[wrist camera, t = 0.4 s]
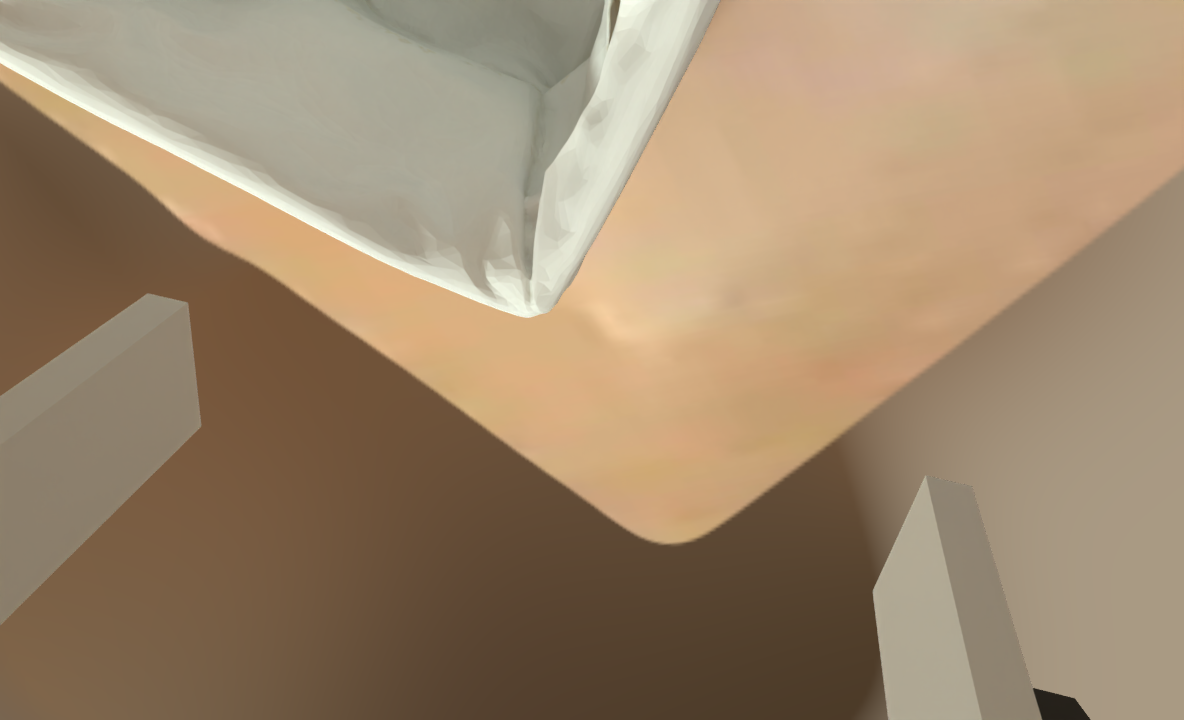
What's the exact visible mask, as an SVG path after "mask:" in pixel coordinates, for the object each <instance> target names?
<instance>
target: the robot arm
mask: <svg viewBox="0 0 1184 720" xmlns="http://www.w3.org/2000/svg"><path fill="white" fill-rule="evenodd" d="M200 427H201V420H200V410H199V401H198V391H197V382H196V373H195V364H194V355H193V346H192V337H191V327H190V319H189V309H188V303H187V302H183V301H178V300H174V299H169V298H165V297H161V296H157V295H153V294H146V295H145V296H144V297H142V298H141V299H139V300H138V301H136V302H135V303H133V304H132V305H131V306H129V307H128V308H126V309H125V310H123V311H122V312H121V313H119V314H118V315H116V316H115V317H113V318H112V319H110V320H109V321H108V322H106V323H105V324H103V325H102V326H100V327H99V328H98V329H96V330H95V331H93V332H92V333H90V334H89V335H88V336H86V337H85V338H83V339H82V340H80V341H79V342H77V343H76V344H75V345H73V346H72V347H70V348H69V349H68V350H66V351H65V352H63V353H62V354H60V355H59V356H57V357H56V358H54V359H53V360H52V361H50V362H49V363H48V364H46V365H45V366H43V367H42V368H40V369H39V370H37V371H36V372H35V373H33V374H31V375H30V376H29V377H27V378H26V379H24V380H23V381H22V382H20V383H19V384H17V385H16V386H15V387H13V388H12V389H10V390H9V391H7V392H6V393H4V394H3V395H1V396H0V625H1V624H2V623H3V622H4V621H5V620H6V619H7V618H8V617H9V616H10V615H11V614H12V613H13V612H14V611H15V610H16V609H17V608H18V607H19V606H20V605H21V604H22V603H23V602H24V601H25V600H26V599H27V598H28V597H29V596H30V595H31V594H32V593H33V592H34V591H35V590H36V589H37V588H38V587H39V586H40V585H41V584H42V583H43V582H44V581H45V580H46V579H47V578H48V577H49V576H50V575H51V574H52V573H53V572H54V571H55V570H56V569H57V568H58V567H59V566H60V565H61V564H62V563H63V562H64V561H65V560H66V559H68V557H69V556H71V554H73V553H74V552H75V550H77V549H78V548H79V547H80V546H81V545H82V544H83V543H84V541H86V540H87V539H88V538H89V537H90V536H91V535H92V534H93V533H94V532H95V531H96V530H97V529H98V528H99V527H100V526H101V525H102V524H103V523H104V522H105V521H106V520H107V519H108V518H109V517H110V516H111V515H112V514H113V513H114V512H115V511H116V510H117V509H118V508H119V507H120V506H121V505H122V504H123V503H124V502H125V501H126V500H127V499H128V498H129V497H130V496H131V495H132V494H133V493H134V492H135V491H136V490H137V489H138V488H139V487H140V486H141V485H142V484H143V483H144V482H145V481H146V480H147V479H148V478H149V477H150V476H151V475H152V474H153V473H154V472H155V471H156V470H158V469H159V468H160V467H161V466H162V465H163V464H164V463H165V462H166V461H167V460H168V459H169V458H170V457H171V456H172V455H173V454H174V452H176V451H177V450H178V449H179V448H180V447H181V446H182V445H183V443H185V442H186V441H187V440H188V439H189V438H190V437H191V436H192V435H193V434H194V433H195V432H196V431H197V430H198V429H199V428H200ZM873 598H874V606H875V614H876V622H877V630H878V638H879V646H880V655H881V663H882V671H883V679H884V687H885V695H886V704H887V711H888V720H1090V718H1089V717H1088V716H1087V714H1086V713H1085V712H1084V710H1083V709H1082V708H1081V706H1080V705H1079V704H1078V702H1077V701H1076V700H1075V699H1074V698H1071V697H1067V696H1063V695H1059V694H1055V693H1051V692H1047V691H1043V690H1039V689H1035V688H1032V684H1031V681H1030V678H1029V674H1028V671H1027V668H1026V664H1025V661H1024V658H1023V654H1022V651H1021V648H1020V645H1019V641H1018V638H1017V634H1016V631H1015V628H1014V624H1013V621H1012V618H1011V614H1010V611H1009V608H1008V604H1007V601H1006V598H1005V594H1004V591H1003V588H1002V584H1001V581H1000V578H999V574H998V571H997V568H996V564H995V561H994V558H993V554H992V551H991V548H990V544H989V541H988V538H987V535H986V531H985V528H984V524H983V521H982V518H981V515H980V511H979V508H978V504H977V501H976V498H975V494H974V491H973V488H972V486H969V485H965V484H960V483H956V482H952V481H948V480H944V479H939V478H935V477H931V476H925V478H924V480H923V482H922V484H921V487H920V489H919V491H918V494H917V496H916V498H915V500H914V502H913V504H912V506H911V509H910V511H909V513H908V515H907V517H906V520H905V522H904V524H903V526H902V528H901V530H900V533H899V535H898V537H897V539H896V541H895V544H894V546H893V548H892V550H891V552H890V555H889V557H888V559H887V561H886V563H885V566H884V568H883V570H882V572H881V574H880V576H879V579H878V581H877V583H876V585H875V588H874V590H873Z"/></svg>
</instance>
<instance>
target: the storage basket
mask: <svg viewBox="0 0 1184 720" xmlns="http://www.w3.org/2000/svg"><path fill="white" fill-rule="evenodd" d="M719 3H720V0H0V63H1V64H3V65H5V66H6V67H8V68H10V69H12V70H14V71H15V72H17V73H19V74H21V75H23V76H24V77H26V78H28V79H30V80H32V81H34V82H35V83H37V84H39V85H41V86H43V87H44V88H46V89H48V90H50V91H52V92H53V93H55V94H57V95H59V96H61V97H63V98H64V99H66V100H68V101H70V102H72V103H74V104H76V105H77V106H79V107H81V108H83V109H85V110H87V111H89V112H91V113H93V114H95V115H96V116H98V117H100V118H102V119H104V120H106V121H108V122H110V123H112V124H114V125H116V126H118V127H120V128H122V129H124V130H126V131H128V132H130V133H132V134H134V135H136V136H138V137H140V138H142V139H144V140H146V141H148V142H151V143H153V144H155V145H157V146H159V147H161V148H163V149H165V150H167V151H169V152H171V153H173V154H174V155H176V156H178V157H180V158H182V159H184V160H186V161H188V162H190V163H192V164H194V165H196V166H198V167H200V168H202V169H204V170H206V171H208V172H209V173H211V174H213V175H215V176H217V177H219V178H221V179H223V180H225V181H227V182H229V183H231V184H233V185H235V186H237V187H239V188H241V189H243V190H245V191H247V192H249V193H251V194H253V195H254V196H256V197H258V198H260V199H262V200H264V201H266V202H268V203H269V204H271V205H273V206H275V207H277V208H279V209H281V210H283V211H284V212H286V213H288V214H290V215H292V216H294V217H296V218H298V219H300V220H301V221H303V222H305V223H307V224H309V225H311V226H313V227H315V228H317V229H318V230H320V231H322V232H324V233H326V234H328V235H330V236H332V237H334V238H336V239H338V240H340V241H342V242H344V243H346V244H348V245H350V246H352V247H354V248H356V249H358V250H360V251H362V252H364V253H366V254H368V255H370V256H372V257H374V258H376V259H378V260H380V261H382V262H384V263H386V264H389V265H391V266H393V267H395V268H397V269H400V270H402V271H404V272H406V273H408V274H411V275H413V276H415V277H418V278H420V279H423V280H425V281H428V282H430V283H433V284H436V285H438V286H441V287H443V288H446V289H448V290H450V291H453V292H455V293H458V294H460V295H463V296H465V297H467V298H470V299H472V300H475V301H478V302H480V303H483V304H485V305H488V306H491V307H493V308H496V309H499V310H501V311H504V312H507V313H511V314H514V315H517V316H521V317H526V318H528V317H534V316H537V315H539V314H543V313H548V312H549V311H551V309H552V308H553V307H554V306H555V305H556V304H557V302H558V301H559V299H560V297H561V295H562V294H563V292H564V291H565V290H566V289H567V288H568V287H569V286H570V285H571V283H572V281H573V280H574V278H575V276H576V275H577V273H578V271H579V269H580V267H581V264H582V262H583V260H584V257H585V255H586V254H587V252H588V250H589V249H590V247H591V245H592V244H593V242H594V240H595V239H596V237H597V235H598V233H599V232H600V230H601V228H602V226H603V224H604V223H605V221H606V219H607V217H608V215H609V214H610V212H611V210H612V208H613V206H614V205H615V203H616V201H617V199H618V197H619V196H620V194H621V192H622V190H623V189H624V187H625V185H626V183H627V181H628V179H629V178H630V176H631V174H632V172H633V170H634V168H635V166H636V164H637V162H638V160H639V159H640V157H641V155H642V153H643V151H644V149H645V147H646V145H647V143H648V142H649V140H650V138H651V136H652V134H653V132H654V130H655V128H656V126H657V125H658V123H659V121H660V119H661V117H662V115H663V113H664V111H665V109H666V108H667V106H668V104H669V102H670V100H671V98H672V96H673V94H674V92H675V91H676V89H677V87H678V85H679V83H680V81H681V79H682V77H683V75H684V73H685V72H686V70H687V68H688V66H689V64H690V62H691V60H692V58H693V56H694V55H695V53H696V51H697V49H698V47H699V45H700V43H701V41H702V39H703V37H704V35H705V33H706V30H707V28H708V26H709V24H710V22H711V20H712V18H713V15H714V13H715V11H716V9H717V7H718V5H719Z"/></svg>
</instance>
